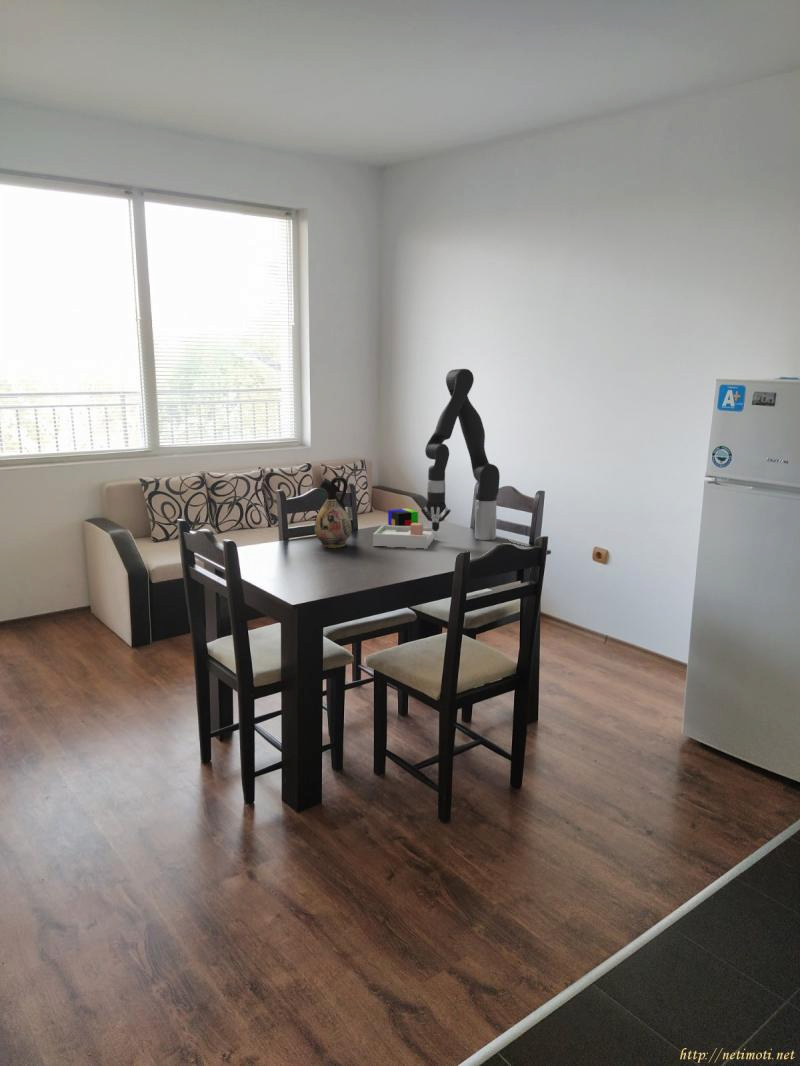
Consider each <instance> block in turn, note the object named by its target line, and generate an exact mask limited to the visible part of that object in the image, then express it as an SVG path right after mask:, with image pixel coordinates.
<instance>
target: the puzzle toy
mask: <svg viewBox="0 0 800 1066" xmlns="http://www.w3.org/2000/svg"><path fill="white" fill-rule="evenodd" d="M387 511H388V512H387V515H388V516H387V517H388V519H387V521H388V522H387V525H391V526H410V525H411V524H412V523H419V512H418V510H417V511H416V510H413V509H411V508H398V509H388V510H387Z"/></svg>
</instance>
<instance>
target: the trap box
mask: <svg viewBox="0 0 800 1066" xmlns="http://www.w3.org/2000/svg"><path fill="white" fill-rule="evenodd" d="M434 533H435V531H434V530H433V529H432V526H423V534H422V535H410V526H391V525H388V524H387V525H386V524H385V525H384V524H382V525H381V526H380V527H379V528H378V529H377V530H376V531H375V532H373V533H372V546H387V547H386V548H395V547H406V548H405V549H416V548H424V549H423V550H428V548H429V547H430V546H431V543H432V542H433V541H434V540H435V538H434V535H435V534H434ZM433 539H434V540H433ZM428 546H429V547H428Z"/></svg>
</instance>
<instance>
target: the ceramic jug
mask: <svg viewBox="0 0 800 1066" xmlns="http://www.w3.org/2000/svg"><path fill="white" fill-rule="evenodd" d="M337 482H340V483H342V484H343V487H342V491H341V494H340V497H339V498H338V496H337V493H338V492H340V487H338V485H337V484H336V483H337ZM316 488H317V489H320V490H323V491H325V492H326V493H327V498H326V501H324V503H323V505H322V506H321V508H320V509H319V512H318V513H317V516H316V519H315V523H314V533H315V535H316V537H317V539H318V540H319V541H320V543H321V546H322V547H323V548H325V547H328V548H327V549H337V547H338V548H342V547H345V546H346V542H347V541H348V539H349V537H350V536H351V535H352V521H351V518H350V516H349V514H348V512H347V509H346V505H345V501H344V499H345V498H346V493H347V489H348V482H347V478H345V477H343V476H342V475H339V476H334V477H333V478H332V480H331V481H328V480H327V479H323V480H322V482H321V483H320V484H318V486H317V487H316Z"/></svg>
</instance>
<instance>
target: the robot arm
mask: <svg viewBox="0 0 800 1066" xmlns="http://www.w3.org/2000/svg"><path fill="white" fill-rule="evenodd" d="M474 379H475V377H474V375H473V371H471V370H470V369H468V368H456V369H451V370H449V371H448V372H447V374H446V376H445V383H446V387H447V390H448V393H449V395H450V400H449V402H448V403H447V405H446V406H445V408H443V411H442V412H441V414H440V416H439V418H438V421H437V424H436V427H435V431H434V432H433V433H432V435H431V437H430V438H429V440H428V441H427V443H426V446H425V451H424V452H425V456H426V457H427V458H428V459H429V460H434V465H433V464H432V465H431V466H429V467H428V475H427V477H428V479H427V480H428V481H427V489H426V491H427V495H426V496H427V499H426V501H427V503H426V505H425V506H424V507H423V508H421V512H422V514H423V515H424V517H425V518H426V520H427V521H429V522H431V525H432V526H431V527H432V529H433V530H434V532H438V531H439V530H440V522H443V521H444V520H445V519H446V517H447V516H448V515H449V514H450V513H451V511H452V510H451V509H450V508H448V507H447V505H446V469H447V466H448V461H449V457H450V450H449V447H448V446H447V444H445V443H444V441H447V440H449V439H451V436H452V434H453V431H454V427H455V424H456V421H457V419H458V421H459V426H460V429H461V432H462V435H463V438H464V442H465V445H466V448H467V451H468V454H469V457H470V465H471V468H472V474H473V477H474V479H475V481H477V482H478V483H479V486H478V488H479V490H478V491H477V492H476V493H475V501H474V502H475V505H474V507H475V509H474V538H475V539H477V540H481V541H494V540H496V539H497V500H498V499H497V498H498V494H499V490H500V476H501V475H500V470H499V468H498V467H497V465H496V464H492V463H490V462H489V460H488V457H487V454H486V449H485V443H486V442H485V441H486V432H485V428H484V425H483V422H482V418H481V416H480V414H479V412H478V411H477V409H476V408H475V407H474V406H473V404H472V403H471V401H470V399H469V397H468V395H469V393H470V392H471V389H472V387H473V385H474V383H475V382H474ZM443 512H444V514H443V516H442V517H441V514H442V513H443ZM429 513H430V514H431V515H430V514H429Z"/></svg>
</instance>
